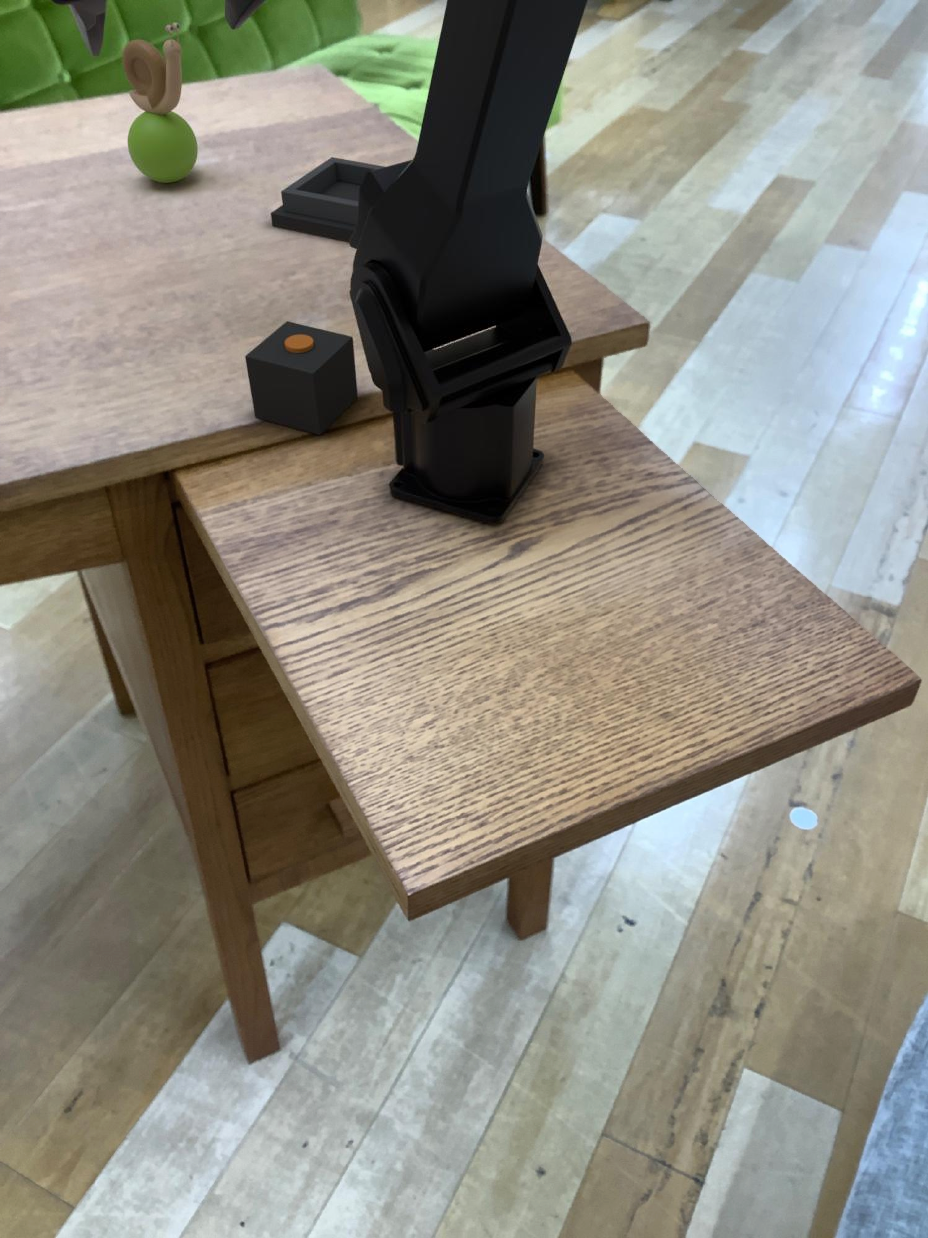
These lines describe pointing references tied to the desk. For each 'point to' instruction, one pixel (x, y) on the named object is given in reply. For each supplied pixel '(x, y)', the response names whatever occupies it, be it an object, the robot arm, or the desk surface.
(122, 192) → the desk surface
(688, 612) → the desk surface
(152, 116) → the snail figurine
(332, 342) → the pad block
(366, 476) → the desk surface
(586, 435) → the desk surface
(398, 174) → the robot arm
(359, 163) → the base pad
